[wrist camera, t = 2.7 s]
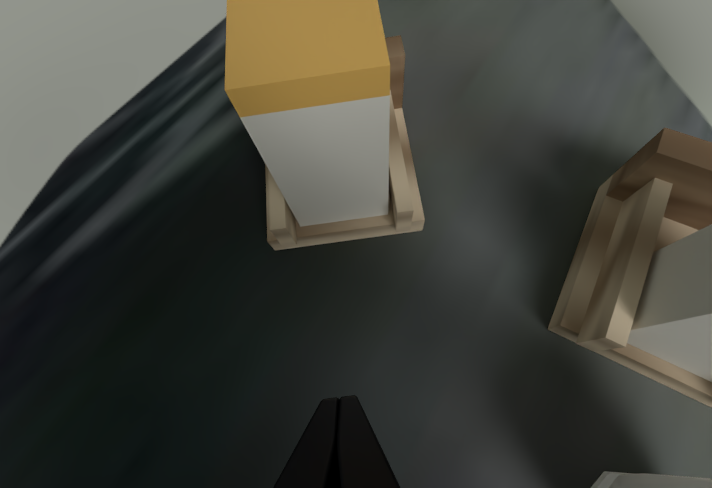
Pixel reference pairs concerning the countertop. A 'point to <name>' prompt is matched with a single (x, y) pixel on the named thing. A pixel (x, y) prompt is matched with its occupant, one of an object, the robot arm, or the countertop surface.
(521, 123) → the countertop surface
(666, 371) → the guide
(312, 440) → the robot arm
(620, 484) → the cup
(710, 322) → the button
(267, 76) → the button
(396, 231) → the guide
